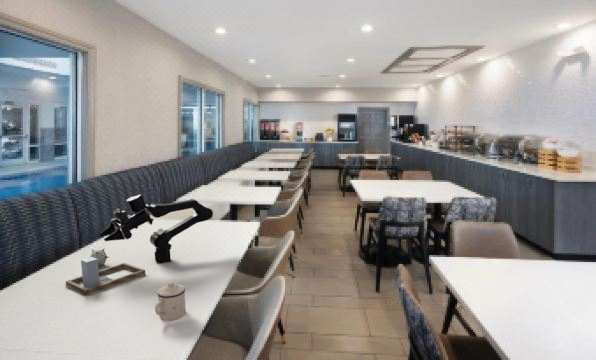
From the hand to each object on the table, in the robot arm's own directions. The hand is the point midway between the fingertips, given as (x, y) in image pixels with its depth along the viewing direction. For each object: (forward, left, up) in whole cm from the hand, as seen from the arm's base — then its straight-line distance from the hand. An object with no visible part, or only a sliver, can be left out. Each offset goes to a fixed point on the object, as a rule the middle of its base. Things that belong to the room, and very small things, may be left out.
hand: (102, 237), depth 171 cm
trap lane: (-2, +7, -17) cm, 18 cm away
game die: (+3, -12, -17) cm, 21 cm away
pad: (-4, +6, -17) cm, 18 cm away
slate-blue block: (+5, +11, -17) cm, 20 cm away
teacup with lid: (-21, +53, -17) cm, 59 cm away
